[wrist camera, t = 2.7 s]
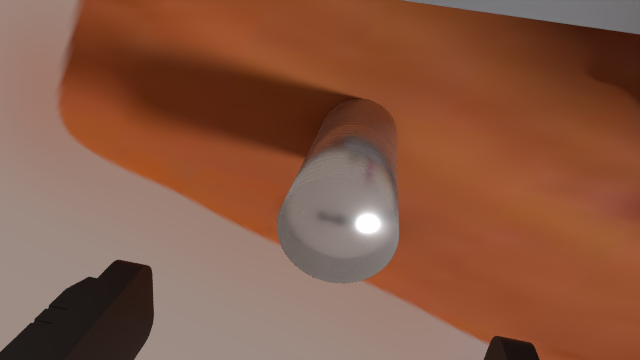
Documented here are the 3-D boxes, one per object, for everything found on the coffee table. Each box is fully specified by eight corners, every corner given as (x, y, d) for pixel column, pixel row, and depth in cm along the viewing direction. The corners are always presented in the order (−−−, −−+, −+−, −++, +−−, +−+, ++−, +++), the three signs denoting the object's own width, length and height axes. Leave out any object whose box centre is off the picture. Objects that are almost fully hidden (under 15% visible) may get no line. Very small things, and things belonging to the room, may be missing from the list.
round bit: (404, 105, 23) (410, 189, 14) (388, 177, 24) (386, 293, 15) (326, 93, 23) (282, 166, 14) (316, 164, 25) (272, 270, 16)
